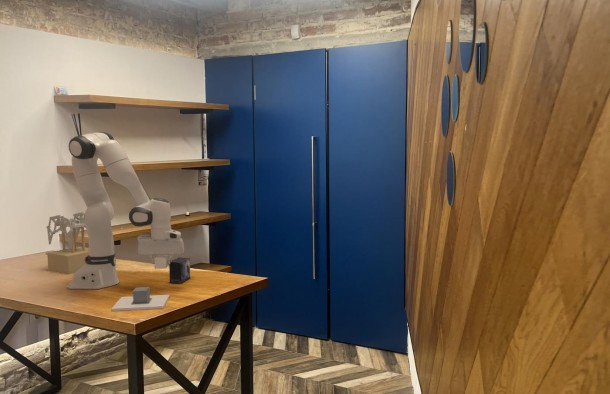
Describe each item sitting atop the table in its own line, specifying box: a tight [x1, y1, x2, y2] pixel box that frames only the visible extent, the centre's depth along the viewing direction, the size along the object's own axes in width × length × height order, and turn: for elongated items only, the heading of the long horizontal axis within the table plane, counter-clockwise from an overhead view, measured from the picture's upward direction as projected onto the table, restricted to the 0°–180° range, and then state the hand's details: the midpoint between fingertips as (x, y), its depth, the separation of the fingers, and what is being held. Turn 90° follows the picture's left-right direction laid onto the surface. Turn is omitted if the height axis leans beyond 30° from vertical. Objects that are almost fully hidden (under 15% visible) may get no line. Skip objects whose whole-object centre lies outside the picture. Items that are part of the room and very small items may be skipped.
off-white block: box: [154, 254, 169, 270], centre depth 225 cm, size 5×5×5 cm
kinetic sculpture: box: [45, 211, 89, 275], centre depth 265 cm, size 25×20×30 cm
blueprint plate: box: [111, 294, 171, 312], centre depth 203 cm, size 20×16×1 cm
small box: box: [168, 257, 191, 284], centre depth 239 cm, size 11×6×10 cm, turn 168°
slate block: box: [132, 286, 151, 303], centre depth 203 cm, size 6×6×5 cm
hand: (161, 263), depth 225 cm, fingers closed on off-white block, 5 cm apart
